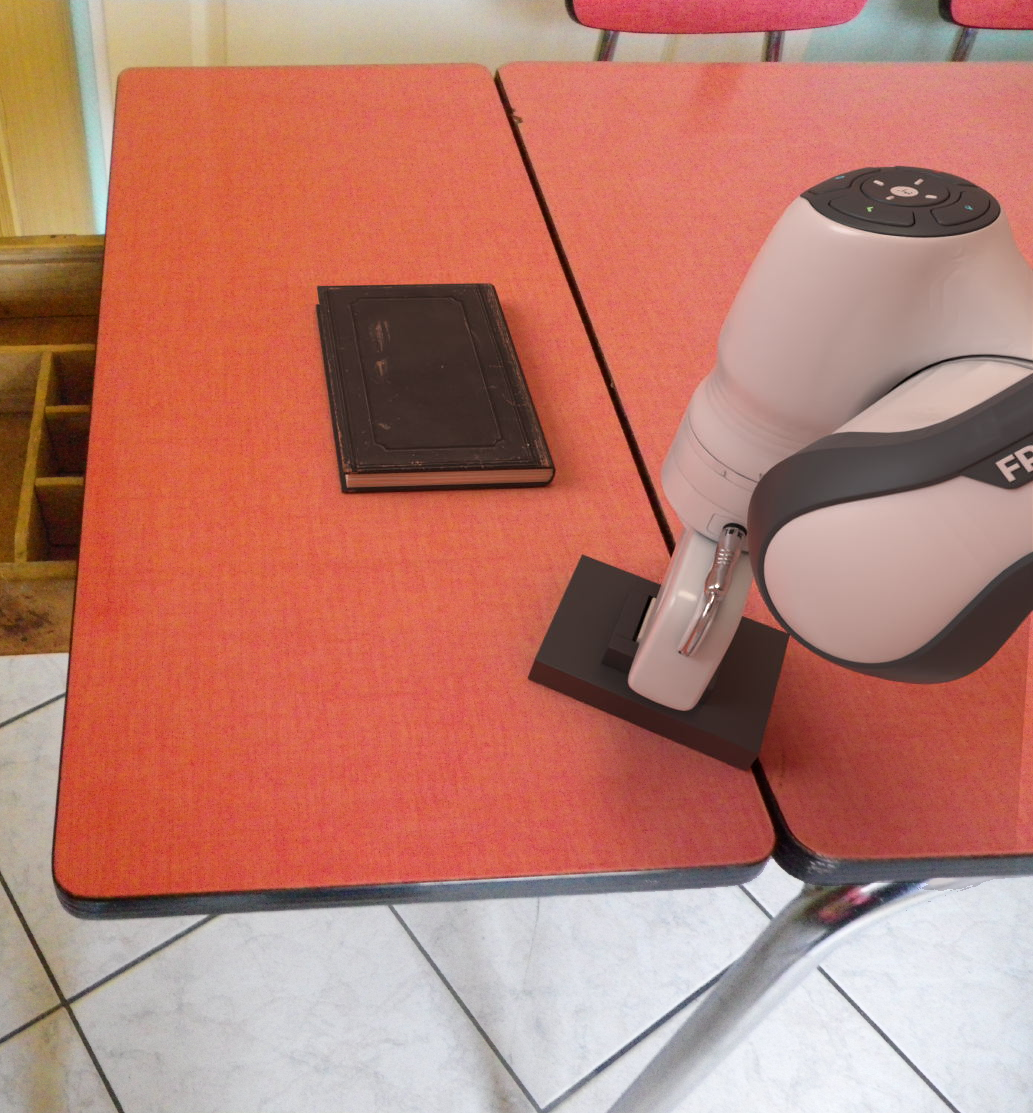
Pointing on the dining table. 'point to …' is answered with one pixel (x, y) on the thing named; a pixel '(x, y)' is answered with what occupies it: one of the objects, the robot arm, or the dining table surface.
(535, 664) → the near block
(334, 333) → the hardcover book
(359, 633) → the dining table surface
